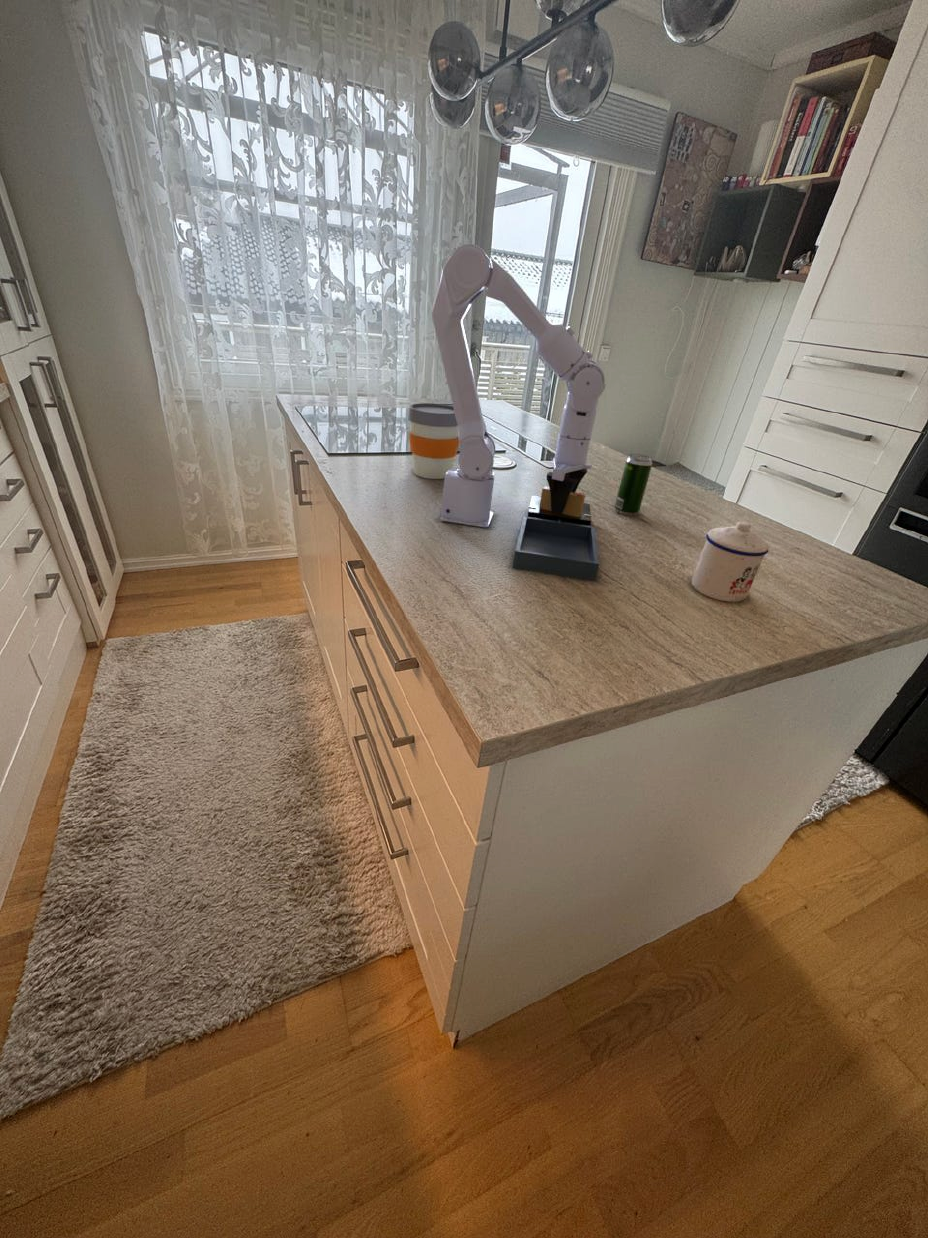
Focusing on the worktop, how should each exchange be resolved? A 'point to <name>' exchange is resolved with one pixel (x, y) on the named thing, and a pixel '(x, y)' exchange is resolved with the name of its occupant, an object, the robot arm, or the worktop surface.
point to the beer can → (633, 484)
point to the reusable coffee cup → (433, 439)
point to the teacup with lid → (729, 562)
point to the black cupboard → (549, 515)
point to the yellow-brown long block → (572, 506)
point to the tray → (557, 548)
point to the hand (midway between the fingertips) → (560, 508)
